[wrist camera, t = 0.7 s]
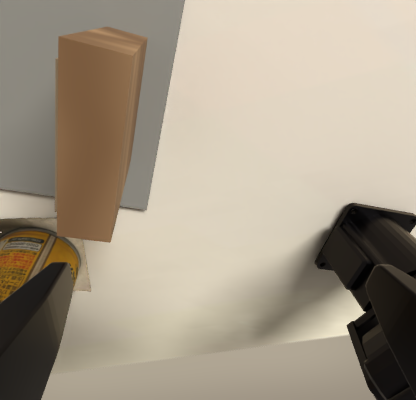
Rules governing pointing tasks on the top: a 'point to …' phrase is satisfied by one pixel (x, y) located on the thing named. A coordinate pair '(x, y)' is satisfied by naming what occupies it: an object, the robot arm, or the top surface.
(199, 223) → the top surface
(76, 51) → the wooden block
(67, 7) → the mat
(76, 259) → the condiment
